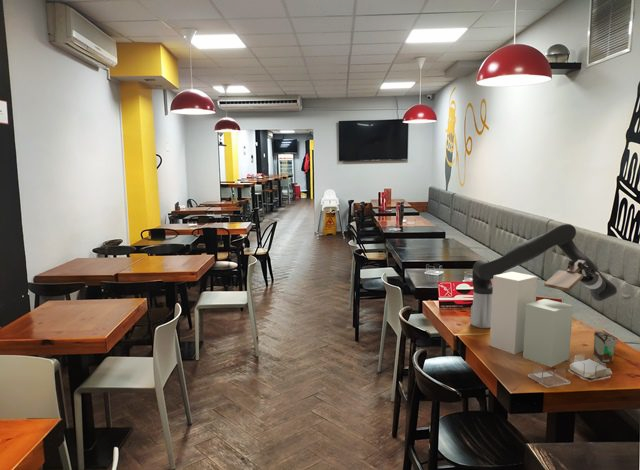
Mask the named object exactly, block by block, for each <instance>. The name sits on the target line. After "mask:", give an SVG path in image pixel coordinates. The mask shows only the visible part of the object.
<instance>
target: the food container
mask: <svg viewBox="0 0 640 470" xmlns="http://www.w3.org/2000/svg"><path fill="white" fill-rule="evenodd" d="M593 336H594V340H593V341H594V342H593V356H594V357H595V358H597V359H596V360H598V359H599V360H600V361H601V362H602V363H606V364H607V365H608V364H611V363H612V362H613V357H614V351H615V348H616V347H615V346H616V345H618V340H617V339H616V337H615V335H612V334H610V333H606V332H603V331H598V330H597V331H596V330H595V331H594V332H593ZM599 360H598V361H599ZM600 361H599V362H600ZM601 362H600V363H601ZM602 363H601V364H602ZM606 364H605V365H606Z"/></svg>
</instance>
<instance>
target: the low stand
mask: <svg viewBox="0 0 640 470" xmlns="http://www.w3.org/2000/svg"><path fill="white" fill-rule="evenodd" d="M573 313H574V305H573V304H569V303H565V302H564V303H563V302H560V301H556V300H551V299H549V298H548V299H547V298H543V299H539V300H536V301H535V302H532V303H528V304H526V316H525V333H524V349H523V351H522V352H523V353H522V358H523V359H527V360H528V361H529V360H530V361H532V362H535V363H537V364H541V365H544V366H546V367H550V368H552V367H554V366H557V365H559V364H561V363H564V362H566V361H569V360H570V350H571V339H572V326H573Z"/></svg>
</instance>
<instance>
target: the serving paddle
mask: <svg viewBox="0 0 640 470" xmlns="http://www.w3.org/2000/svg"><path fill="white" fill-rule="evenodd" d="M578 262H581V263H582V264H584V265H586V261H583V260H578V261H577V262H575V263H574V264H573V265H572V266H571V267H570V268H569V269H568V270H567V269H566V270H561V269H559V270H557V271H556V272H555V273H553V275H552V276H551V277H550V278H548V279H547V280H546V281H545V282H544V284H543V285H544V287H546V288H550V289H555V290H559V291H564V292H565V291H566V292H570V291H571V290H572V289H573V288H574V287H575V286H576V285H577V284H578V283H579V282H581V281H580V280H581V279H582V278H583V274H578V272H579V271H580V270H581V269H580V268H579V267H578V266H577V265H578Z"/></svg>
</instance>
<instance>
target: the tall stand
mask: <svg viewBox="0 0 640 470" xmlns="http://www.w3.org/2000/svg"><path fill="white" fill-rule="evenodd" d="M537 285H538V276H536V275H531V274H526V273H521V272H516V271H508V272H503V273H501V274H499V275H494V276H493V279H492V287H493V293H492V313H491V327H490V337H489V346H490V347H493V348H496V349H499V350H501V351H505V352H507V353H509V354H512V355H516V354H519V353H521V352H523V349H524V333H525V316H526V304H528V303H532V302H535V301H537V300H536V299H537V287H538V286H537Z"/></svg>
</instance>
